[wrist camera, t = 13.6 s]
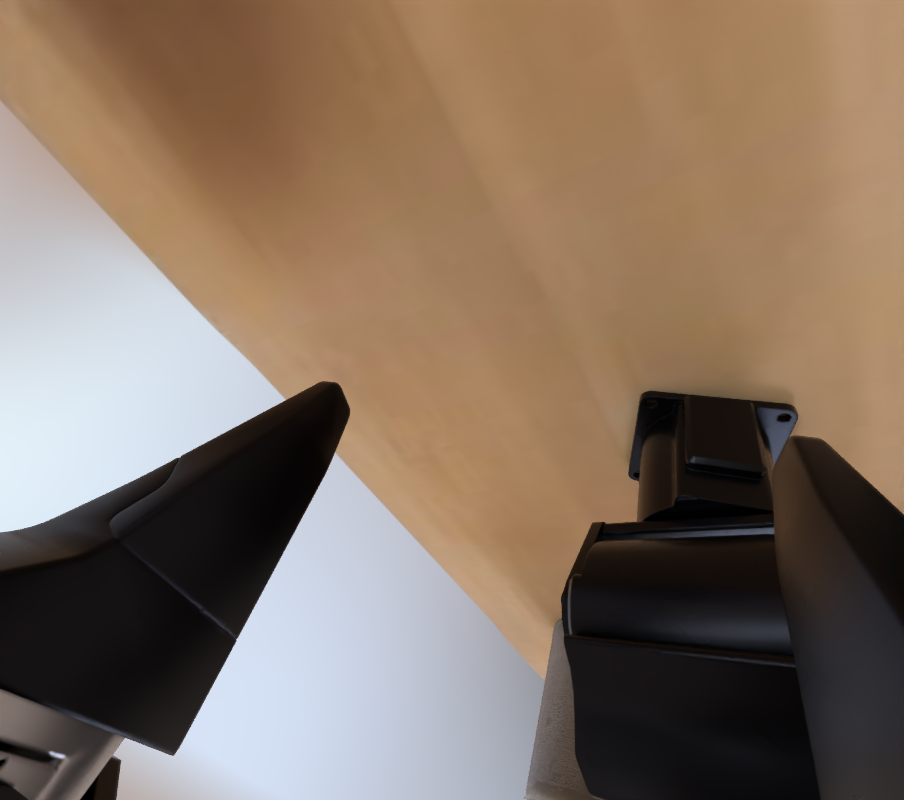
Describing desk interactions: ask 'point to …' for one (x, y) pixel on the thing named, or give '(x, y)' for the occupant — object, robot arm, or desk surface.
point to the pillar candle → (556, 734)
